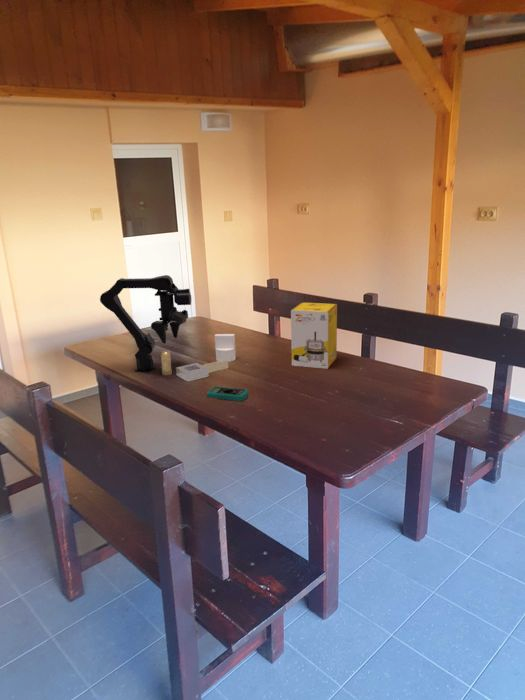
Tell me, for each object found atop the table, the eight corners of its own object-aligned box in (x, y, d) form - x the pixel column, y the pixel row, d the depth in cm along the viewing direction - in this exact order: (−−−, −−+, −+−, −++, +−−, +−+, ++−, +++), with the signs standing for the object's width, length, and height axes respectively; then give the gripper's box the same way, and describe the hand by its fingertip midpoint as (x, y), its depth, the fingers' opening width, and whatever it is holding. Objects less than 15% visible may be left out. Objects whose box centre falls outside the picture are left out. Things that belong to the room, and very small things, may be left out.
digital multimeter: (243, 402, 199) (242, 395, 198) (206, 399, 204) (205, 392, 203) (249, 395, 206) (249, 388, 205) (213, 392, 210) (213, 385, 210)
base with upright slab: (237, 357, 252) (235, 332, 248) (234, 363, 243) (232, 337, 240) (218, 357, 253) (216, 332, 249) (214, 363, 244) (213, 337, 240)
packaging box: (291, 365, 237) (290, 310, 230) (302, 354, 252) (301, 302, 245) (327, 368, 232) (327, 312, 224) (336, 357, 246) (337, 304, 239)
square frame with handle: (176, 375, 228) (175, 367, 227) (221, 364, 240) (221, 357, 239) (187, 381, 220) (186, 373, 219) (233, 370, 232) (232, 362, 231)
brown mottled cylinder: (160, 375, 229) (158, 352, 226) (165, 372, 233) (163, 350, 230) (169, 375, 228) (167, 353, 225) (173, 372, 232) (171, 350, 229)
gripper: (172, 311, 218) (175, 348, 223) (194, 302, 235) (196, 336, 239) (148, 309, 222) (152, 345, 227) (172, 300, 239) (174, 334, 243)
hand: (170, 340), depth 234 cm, fingers open, 9 cm apart
